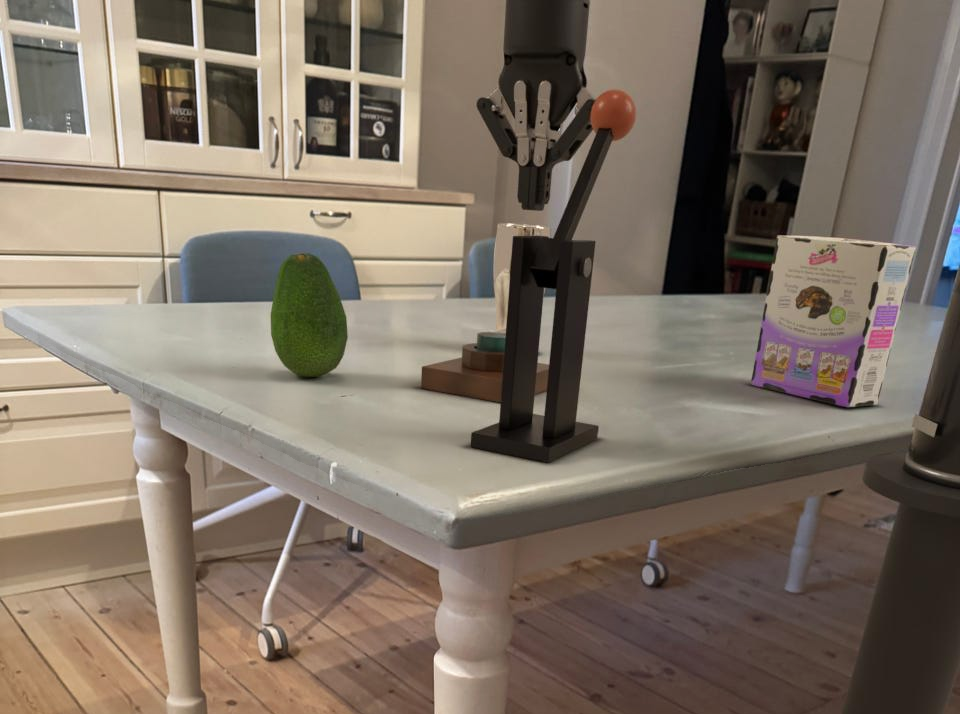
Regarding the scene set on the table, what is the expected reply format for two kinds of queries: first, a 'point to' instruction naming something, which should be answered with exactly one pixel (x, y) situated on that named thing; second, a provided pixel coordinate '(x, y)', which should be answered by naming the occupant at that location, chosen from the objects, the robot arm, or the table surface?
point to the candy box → (831, 318)
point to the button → (491, 341)
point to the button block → (474, 375)
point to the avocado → (307, 317)
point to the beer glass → (508, 264)
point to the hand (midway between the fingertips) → (532, 210)
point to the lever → (585, 179)
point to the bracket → (525, 301)
